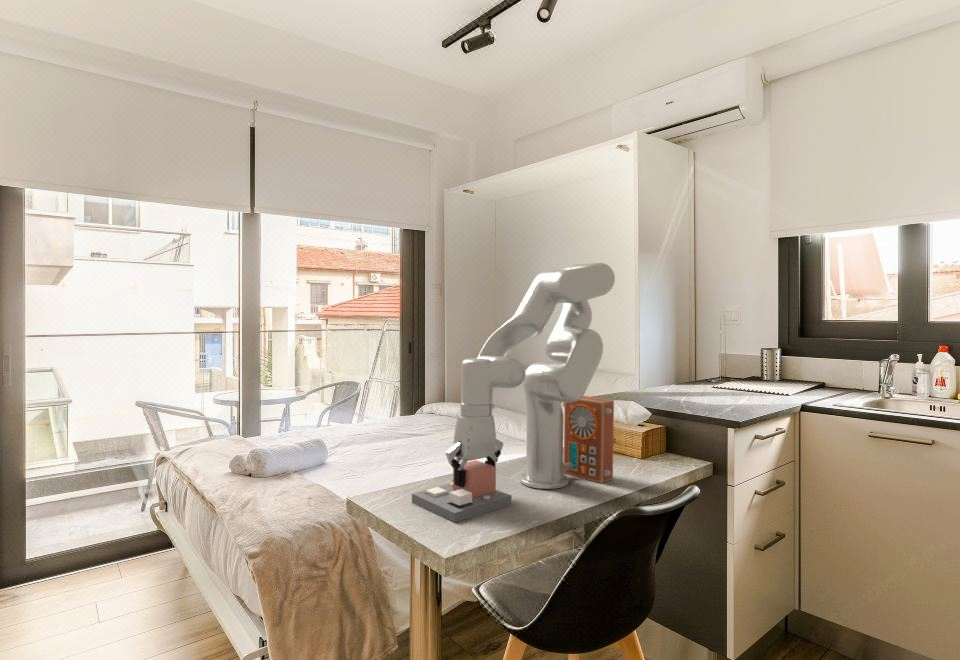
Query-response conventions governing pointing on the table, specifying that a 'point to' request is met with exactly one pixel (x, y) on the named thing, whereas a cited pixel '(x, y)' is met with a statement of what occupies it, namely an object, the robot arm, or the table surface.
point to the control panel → (589, 438)
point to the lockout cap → (478, 478)
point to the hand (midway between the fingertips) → (475, 481)
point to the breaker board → (468, 510)
